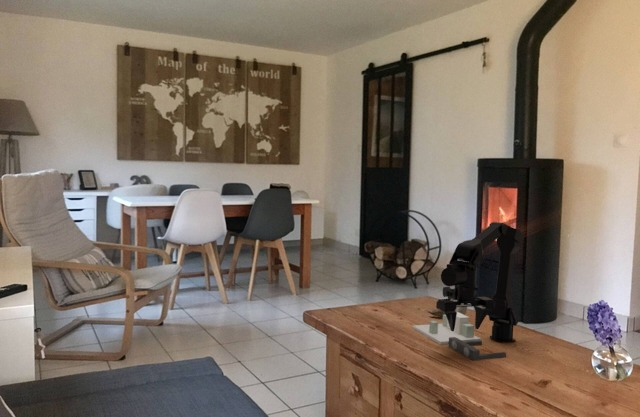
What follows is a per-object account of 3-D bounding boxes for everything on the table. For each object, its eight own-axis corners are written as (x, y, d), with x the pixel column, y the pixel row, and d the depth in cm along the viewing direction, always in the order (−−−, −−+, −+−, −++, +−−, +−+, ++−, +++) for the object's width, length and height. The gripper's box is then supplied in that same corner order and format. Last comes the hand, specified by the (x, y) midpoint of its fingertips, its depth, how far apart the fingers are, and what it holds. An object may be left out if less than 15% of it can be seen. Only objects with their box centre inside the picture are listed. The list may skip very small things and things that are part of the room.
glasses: (479, 343, 186) (480, 335, 186) (506, 357, 173) (506, 347, 173) (448, 346, 182) (448, 337, 182) (472, 360, 169) (472, 350, 169)
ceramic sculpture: (462, 301, 210) (426, 297, 219) (462, 323, 210) (426, 319, 219) (471, 297, 219) (437, 293, 227) (472, 318, 219) (437, 314, 228)
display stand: (449, 325, 208) (450, 307, 207) (480, 341, 189) (481, 321, 188) (412, 328, 203) (413, 309, 202) (440, 344, 184) (441, 324, 183)
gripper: (476, 276, 185) (474, 321, 186) (428, 278, 179) (426, 325, 180) (497, 283, 175) (494, 330, 176) (446, 285, 169) (444, 334, 170)
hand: (464, 330), depth 176 cm, fingers open, 9 cm apart
